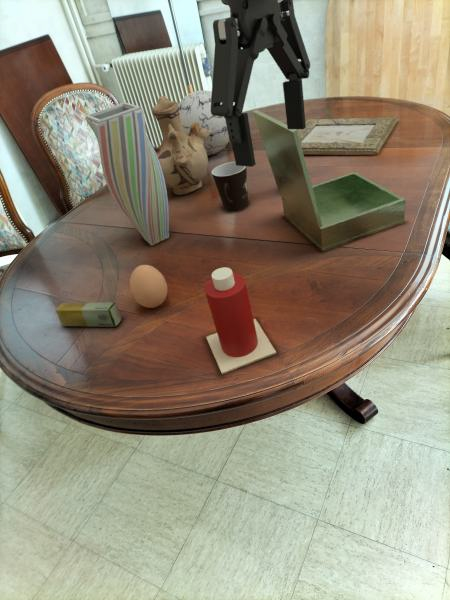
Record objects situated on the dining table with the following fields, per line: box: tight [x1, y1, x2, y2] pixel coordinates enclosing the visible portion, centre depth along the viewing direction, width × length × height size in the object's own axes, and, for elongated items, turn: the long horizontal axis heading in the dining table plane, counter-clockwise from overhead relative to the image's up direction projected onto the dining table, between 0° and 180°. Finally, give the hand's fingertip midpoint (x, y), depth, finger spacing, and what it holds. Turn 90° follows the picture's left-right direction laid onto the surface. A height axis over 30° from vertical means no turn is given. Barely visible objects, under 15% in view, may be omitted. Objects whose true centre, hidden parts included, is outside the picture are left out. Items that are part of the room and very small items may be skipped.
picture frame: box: [296, 116, 398, 156], centre depth 130 cm, size 27×30×3 cm
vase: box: [84, 101, 170, 246], centre depth 94 cm, size 14×14×30 cm
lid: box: [252, 109, 322, 227], centre depth 81 cm, size 19×19×1 cm
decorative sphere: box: [178, 89, 230, 157], centre depth 138 cm, size 20×20×20 cm
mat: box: [205, 318, 277, 375], centre depth 67 cm, size 9×9×1 cm
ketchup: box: [204, 266, 258, 357], centre depth 63 cm, size 6×6×14 cm
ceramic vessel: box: [151, 95, 212, 196], centre depth 116 cm, size 18×19×25 cm
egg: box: [129, 264, 168, 309], centre depth 78 cm, size 7×7×9 cm
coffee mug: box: [211, 161, 249, 213], centre depth 104 cm, size 12×9×10 cm
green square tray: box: [281, 171, 406, 253], centre depth 90 cm, size 19×19×5 cm
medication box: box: [55, 301, 123, 328], centre depth 79 cm, size 12×3×4 cm, turn 78°
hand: (272, 145), depth 59 cm, fingers open, 13 cm apart
